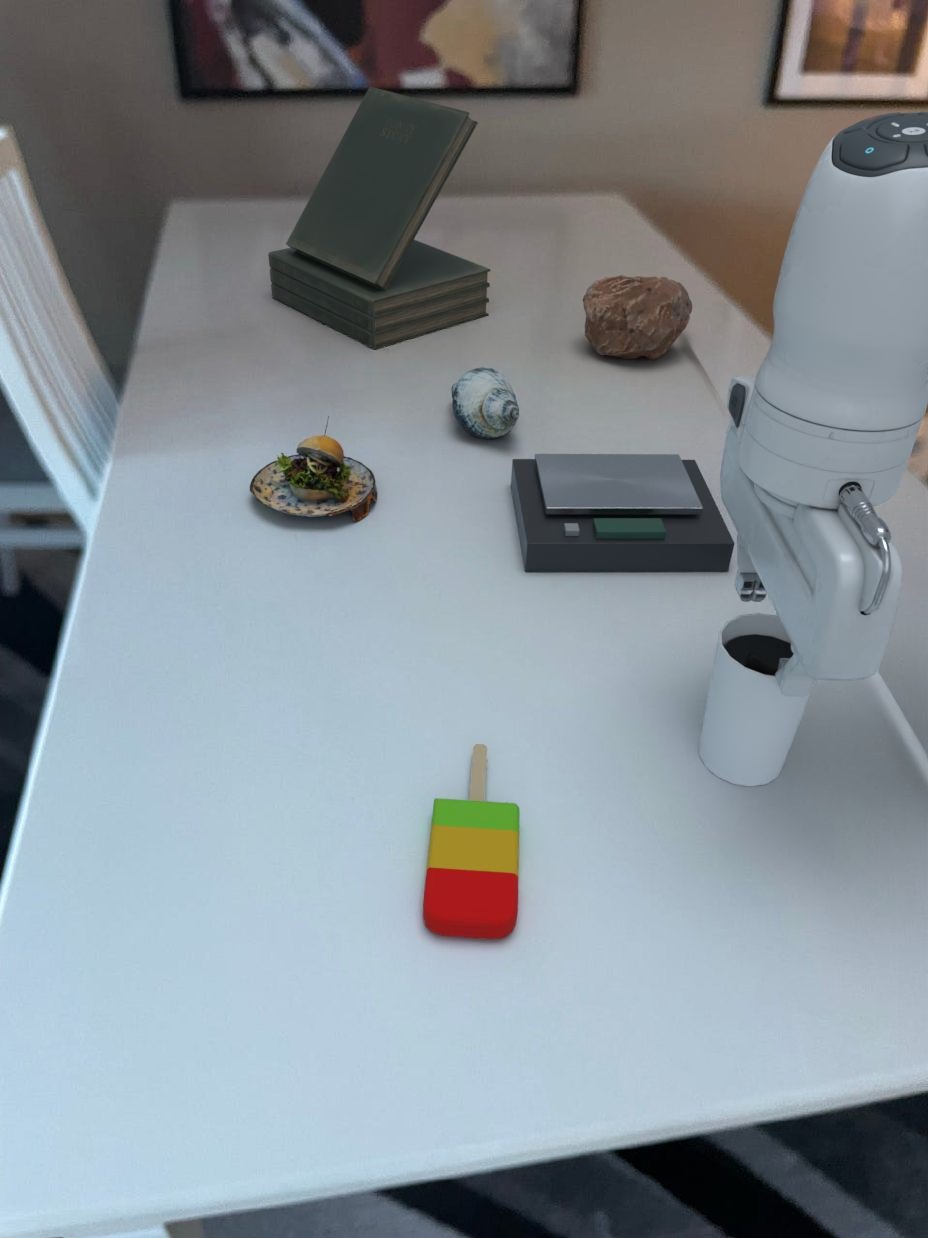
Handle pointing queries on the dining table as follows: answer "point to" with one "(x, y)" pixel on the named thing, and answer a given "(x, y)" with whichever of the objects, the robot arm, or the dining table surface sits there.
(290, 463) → the burger
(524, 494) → the scale
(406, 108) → the stack of books
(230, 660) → the dining table surface
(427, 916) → the popsicle
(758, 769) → the white hollow cylinder
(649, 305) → the decorative rock
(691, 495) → the scale pan
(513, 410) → the seashell
